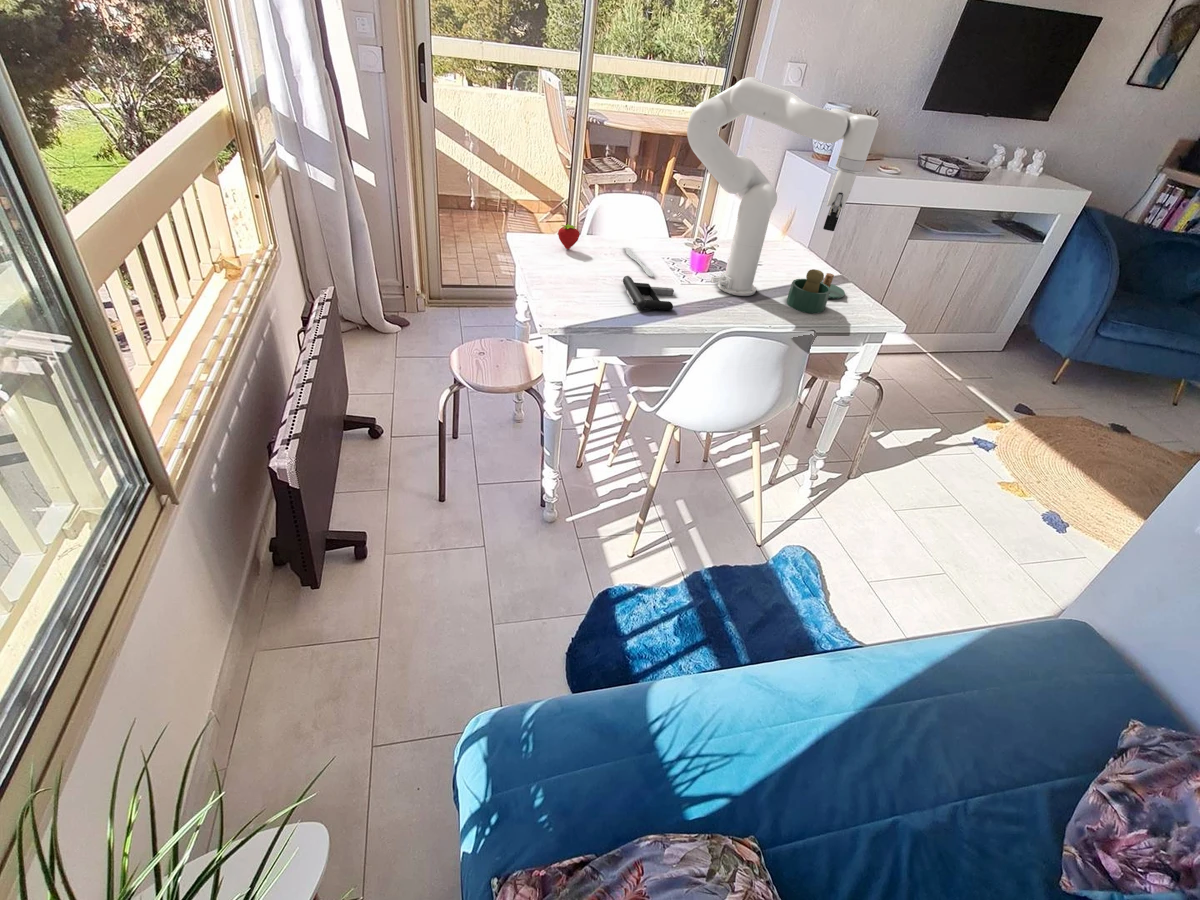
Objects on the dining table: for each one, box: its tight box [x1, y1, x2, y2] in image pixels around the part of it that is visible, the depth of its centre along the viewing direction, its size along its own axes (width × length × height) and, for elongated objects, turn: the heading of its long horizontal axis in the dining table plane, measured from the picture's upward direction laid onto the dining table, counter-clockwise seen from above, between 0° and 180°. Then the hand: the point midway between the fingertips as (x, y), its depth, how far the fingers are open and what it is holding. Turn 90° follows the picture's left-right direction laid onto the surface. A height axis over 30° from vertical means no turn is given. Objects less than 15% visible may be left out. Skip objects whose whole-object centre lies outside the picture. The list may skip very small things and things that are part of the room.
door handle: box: [622, 275, 675, 312], centre depth 192 cm, size 3×20×16 cm
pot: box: [786, 278, 831, 314], centre depth 199 cm, size 12×12×6 cm
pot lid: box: [821, 272, 846, 299], centre depth 210 cm, size 13×13×6 cm
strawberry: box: [557, 221, 581, 250], centre depth 216 cm, size 6×8×10 cm
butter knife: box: [625, 247, 655, 278], centre depth 216 cm, size 1×27×3 cm
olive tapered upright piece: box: [803, 269, 825, 293], centre depth 197 cm, size 6×6×11 cm
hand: (829, 225), depth 186 cm, fingers open, 9 cm apart
